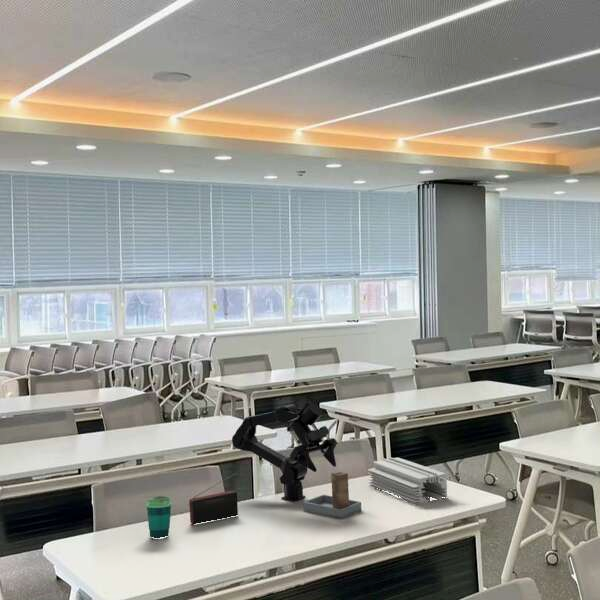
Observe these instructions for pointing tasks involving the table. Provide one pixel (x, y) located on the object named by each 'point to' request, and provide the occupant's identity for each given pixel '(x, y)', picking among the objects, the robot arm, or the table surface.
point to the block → (340, 490)
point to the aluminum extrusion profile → (408, 480)
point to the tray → (330, 507)
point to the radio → (213, 506)
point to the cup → (159, 516)
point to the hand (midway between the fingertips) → (325, 468)
